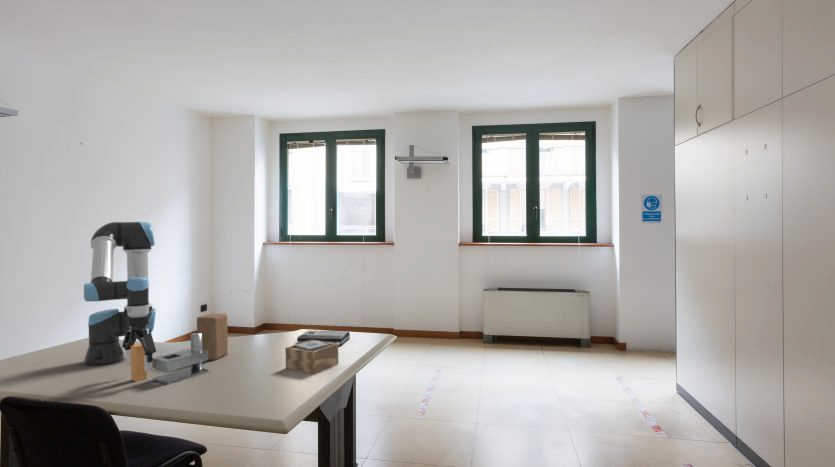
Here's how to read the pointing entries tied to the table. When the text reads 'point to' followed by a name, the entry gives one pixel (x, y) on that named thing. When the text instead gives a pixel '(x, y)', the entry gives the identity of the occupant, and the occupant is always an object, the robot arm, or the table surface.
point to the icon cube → (311, 346)
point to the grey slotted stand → (182, 362)
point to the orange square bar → (138, 363)
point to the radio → (325, 336)
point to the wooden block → (213, 334)
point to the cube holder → (312, 358)
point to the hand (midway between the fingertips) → (139, 367)
